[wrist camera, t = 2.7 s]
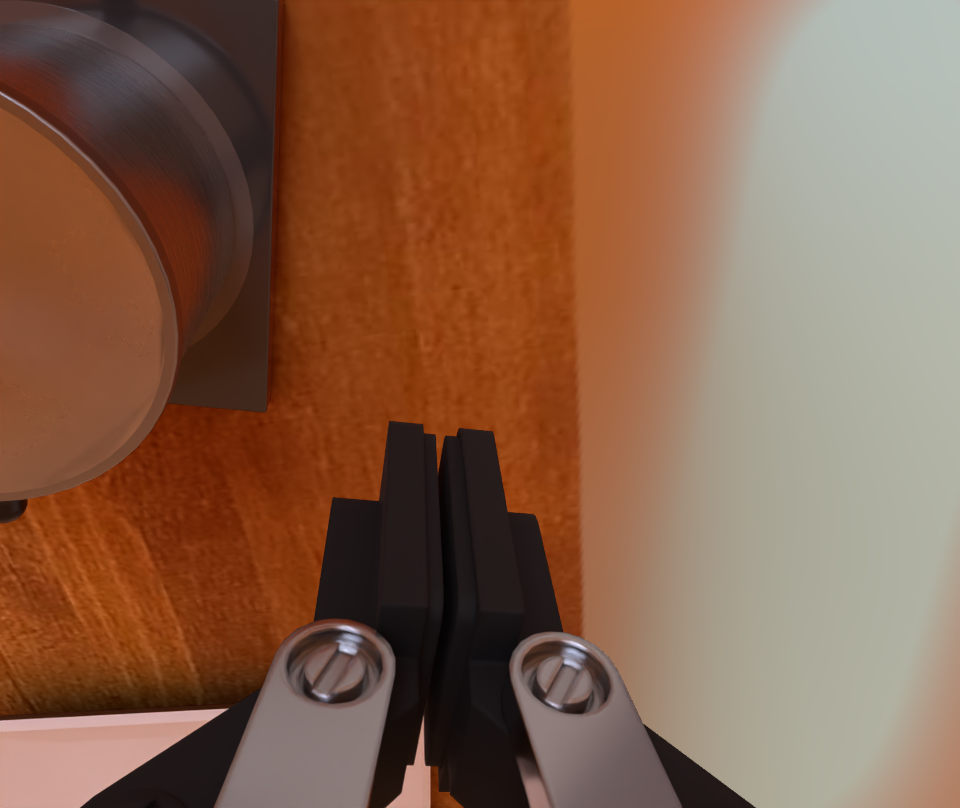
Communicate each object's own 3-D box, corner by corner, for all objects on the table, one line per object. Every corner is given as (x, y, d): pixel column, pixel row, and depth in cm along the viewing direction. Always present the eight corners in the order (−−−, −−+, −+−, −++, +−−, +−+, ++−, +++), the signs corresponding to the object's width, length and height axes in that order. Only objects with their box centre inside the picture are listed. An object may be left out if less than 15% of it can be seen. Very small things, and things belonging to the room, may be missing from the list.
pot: (-193, -107, 17) (-535, -148, 11) (245, -26, 18) (165, -22, 12) (-77, 392, 23) (-250, 545, 17) (240, 421, 24) (186, 572, 18)
